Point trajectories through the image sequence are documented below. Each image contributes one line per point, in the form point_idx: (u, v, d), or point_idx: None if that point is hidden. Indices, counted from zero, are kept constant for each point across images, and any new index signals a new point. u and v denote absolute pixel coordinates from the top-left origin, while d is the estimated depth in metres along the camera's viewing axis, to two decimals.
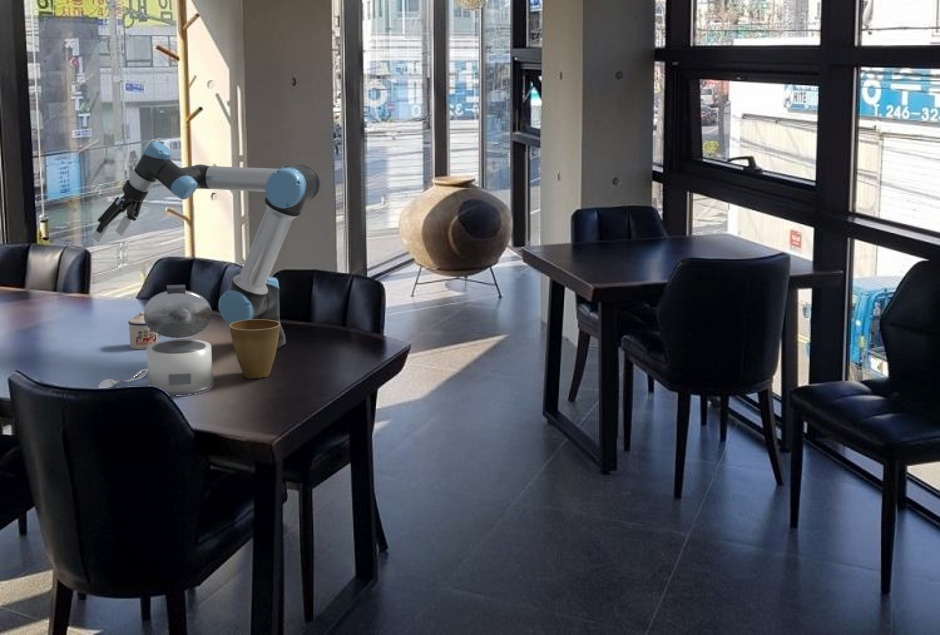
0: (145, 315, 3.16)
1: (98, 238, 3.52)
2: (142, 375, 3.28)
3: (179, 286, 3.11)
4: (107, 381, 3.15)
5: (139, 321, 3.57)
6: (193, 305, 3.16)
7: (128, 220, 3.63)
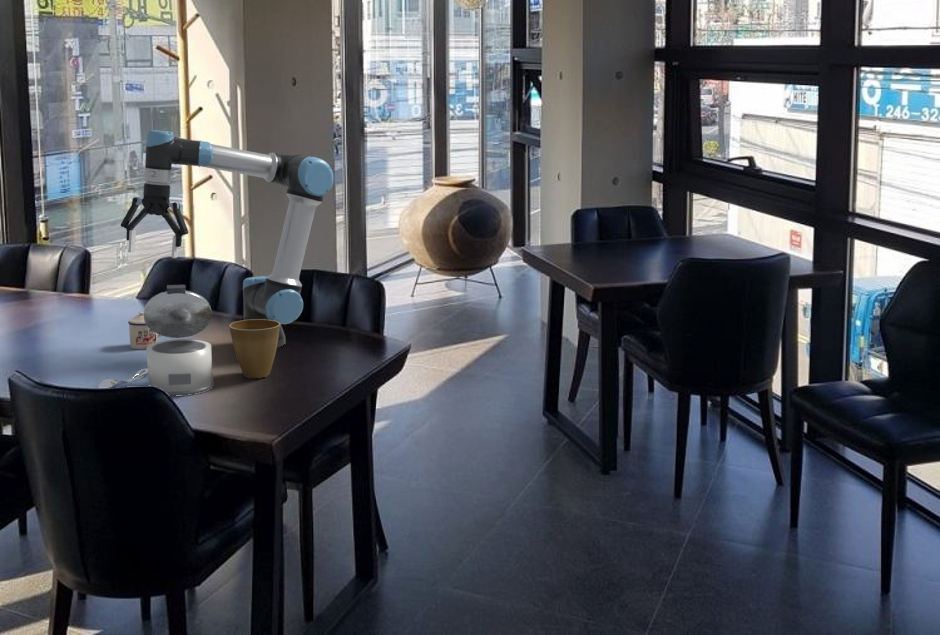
0: (145, 315, 3.16)
1: (177, 253, 3.27)
2: (142, 375, 3.28)
3: (179, 286, 3.11)
4: (107, 381, 3.15)
5: (139, 321, 3.57)
6: (193, 305, 3.16)
7: (134, 231, 3.27)
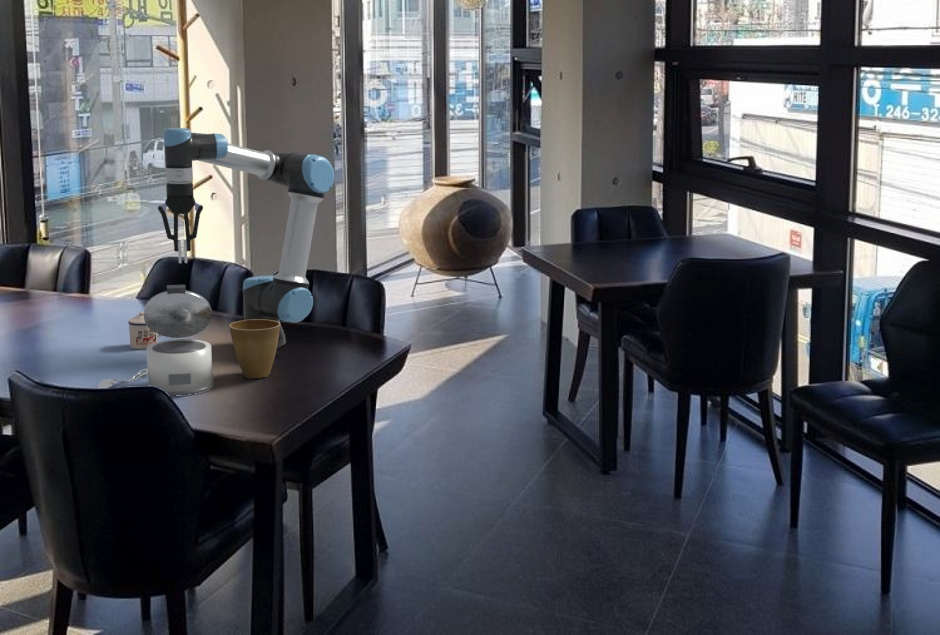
0: (145, 315, 3.16)
1: None
2: (142, 375, 3.28)
3: (179, 286, 3.11)
4: (106, 381, 3.16)
5: (139, 321, 3.57)
6: (193, 305, 3.16)
7: (180, 241, 3.23)
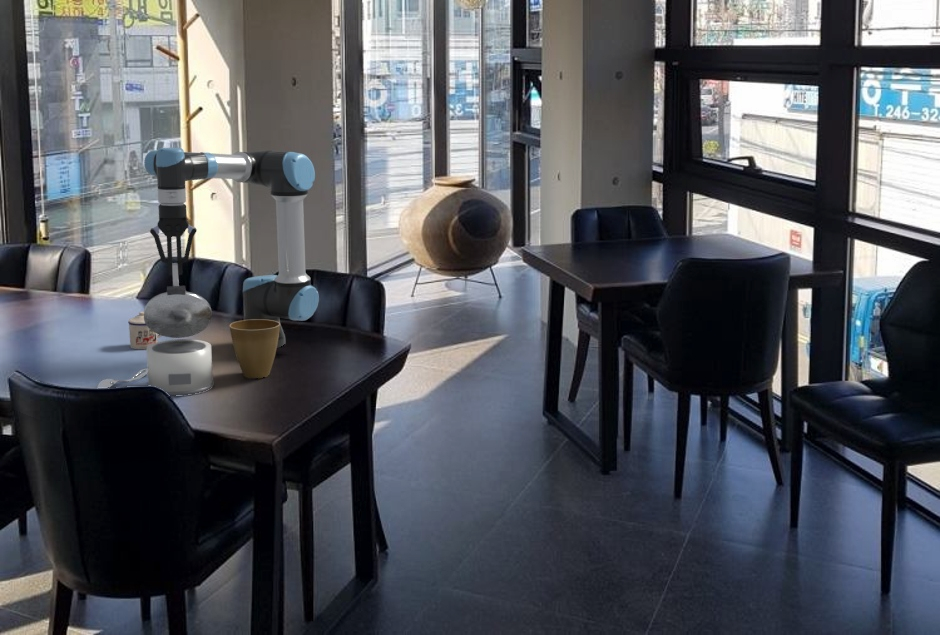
0: (145, 316, 3.16)
1: (178, 281, 3.13)
2: (142, 375, 3.28)
3: (179, 287, 3.10)
4: (106, 381, 3.16)
5: (139, 321, 3.57)
6: (193, 306, 3.16)
7: None
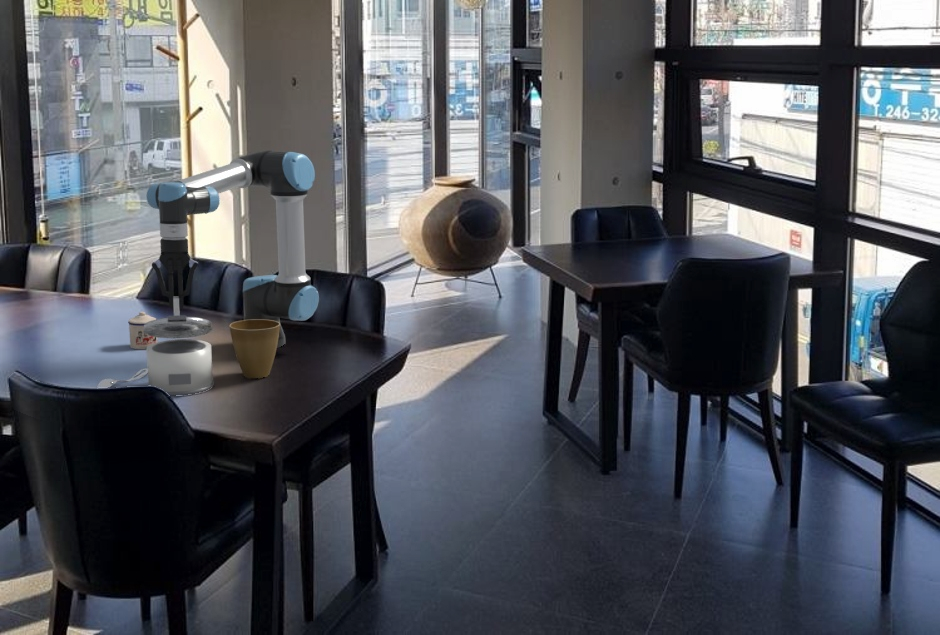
0: (145, 331, 3.13)
1: None
2: (142, 375, 3.28)
3: (180, 317, 3.06)
4: (106, 380, 3.16)
5: (139, 321, 3.57)
6: (194, 326, 3.13)
7: None
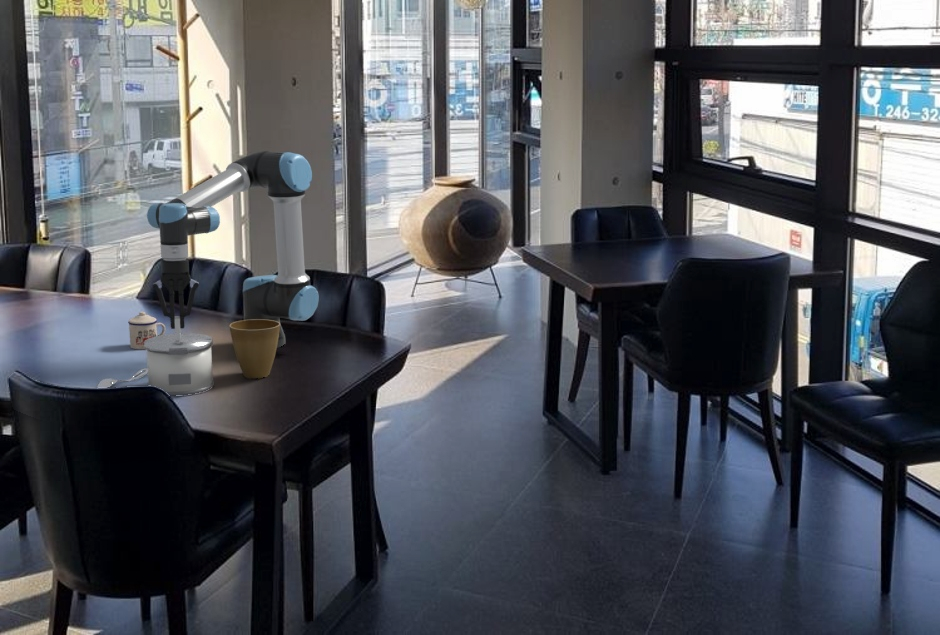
0: None
1: None
2: (142, 375, 3.28)
3: (181, 352, 3.05)
4: (106, 380, 3.16)
5: (139, 321, 3.57)
6: None
7: None
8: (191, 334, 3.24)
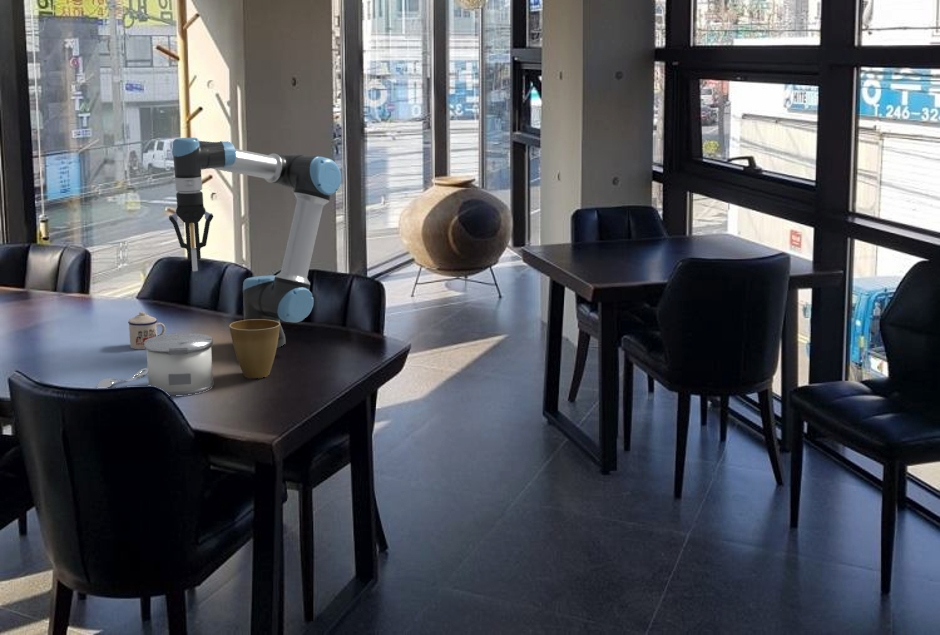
0: None
1: None
2: (142, 374, 3.29)
3: (181, 352, 3.05)
4: (106, 380, 3.16)
5: (139, 321, 3.57)
6: None
7: None
8: (191, 334, 3.24)
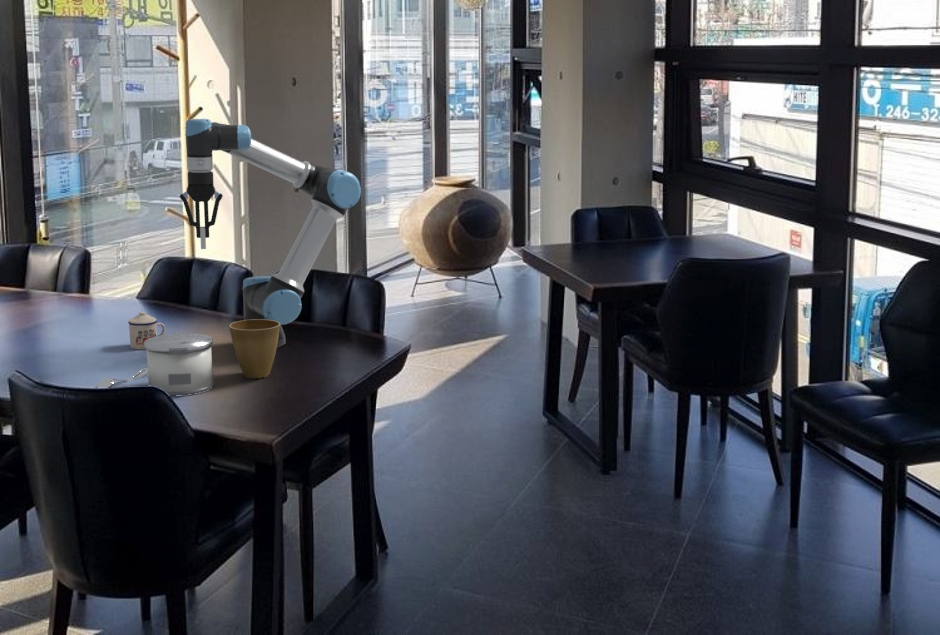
0: None
1: None
2: (142, 374, 3.29)
3: (181, 352, 3.05)
4: (106, 380, 3.16)
5: (139, 321, 3.57)
6: None
7: None
8: (191, 334, 3.24)
